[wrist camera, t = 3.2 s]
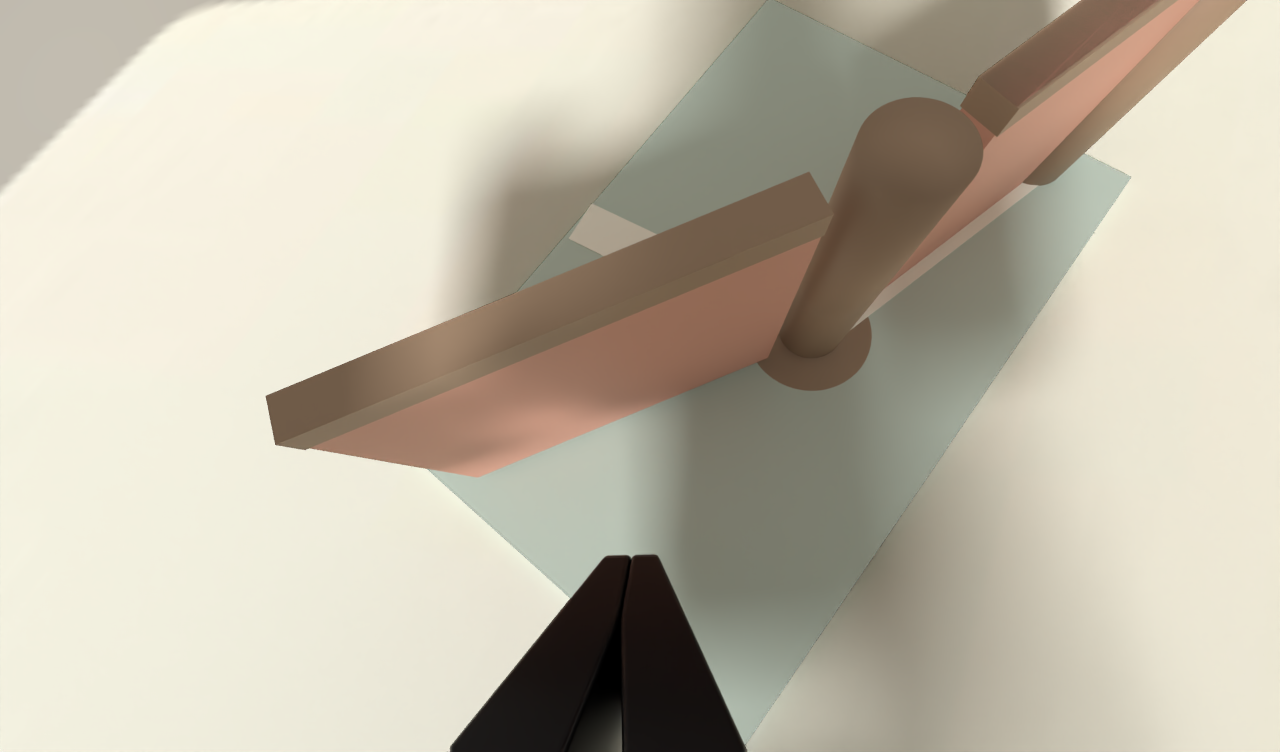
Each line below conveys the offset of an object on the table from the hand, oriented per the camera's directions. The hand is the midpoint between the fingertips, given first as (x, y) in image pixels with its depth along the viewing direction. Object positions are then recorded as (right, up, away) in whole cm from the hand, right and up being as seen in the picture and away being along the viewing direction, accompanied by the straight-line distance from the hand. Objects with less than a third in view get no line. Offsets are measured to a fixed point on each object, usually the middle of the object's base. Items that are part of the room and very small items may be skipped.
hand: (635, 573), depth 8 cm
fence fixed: (+9, +7, +10) cm, 15 cm away
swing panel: (+1, +3, +9) cm, 10 cm away
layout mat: (+4, +5, +10) cm, 12 cm away
